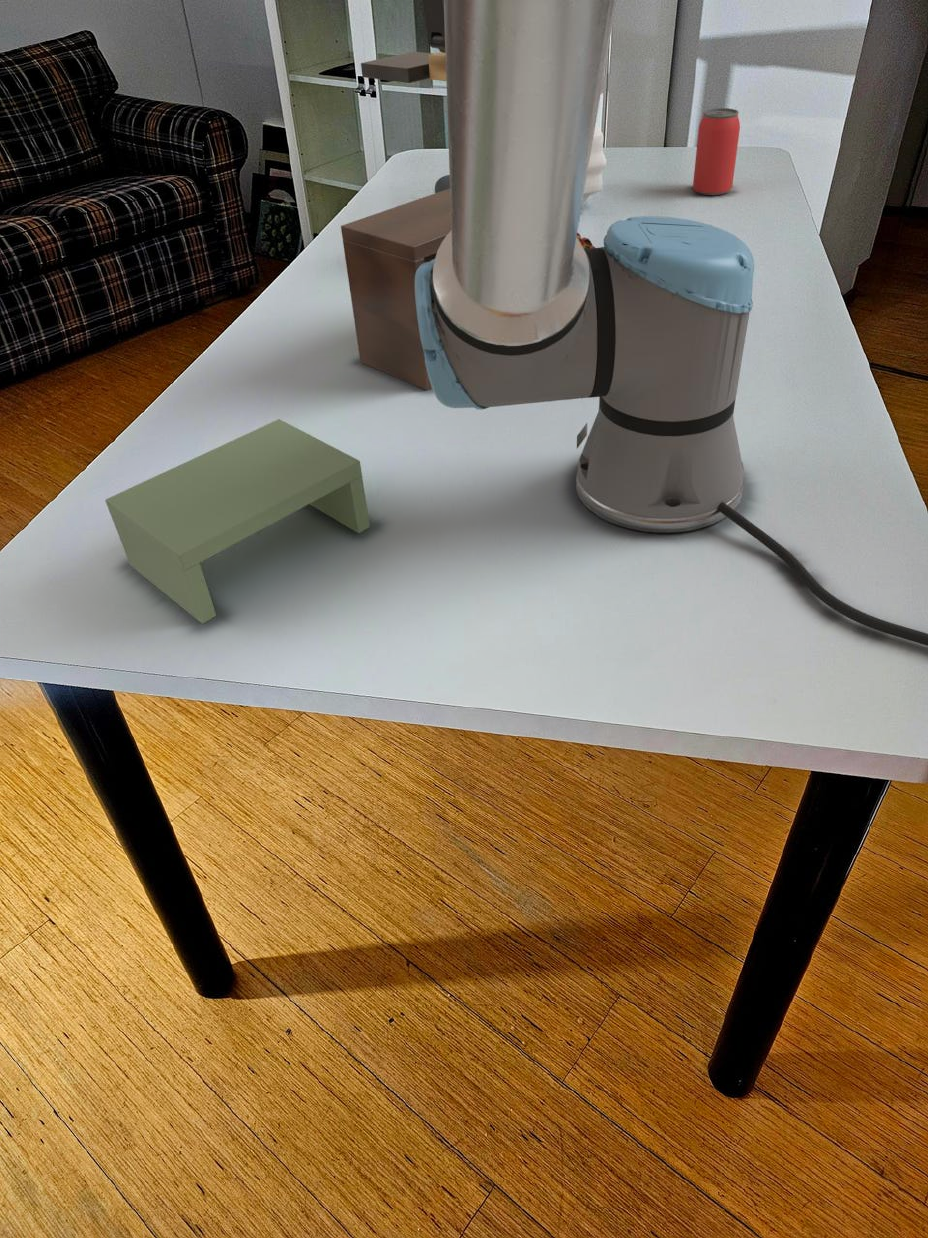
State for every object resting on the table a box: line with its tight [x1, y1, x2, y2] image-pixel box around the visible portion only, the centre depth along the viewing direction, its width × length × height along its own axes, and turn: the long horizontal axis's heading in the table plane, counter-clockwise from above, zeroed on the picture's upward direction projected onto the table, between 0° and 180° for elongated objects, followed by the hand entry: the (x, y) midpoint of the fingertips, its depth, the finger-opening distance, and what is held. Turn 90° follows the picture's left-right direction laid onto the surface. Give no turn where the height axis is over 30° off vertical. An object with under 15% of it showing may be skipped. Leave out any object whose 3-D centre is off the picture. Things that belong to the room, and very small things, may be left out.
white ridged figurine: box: [582, 124, 607, 205], centre depth 146 cm, size 11×18×16 cm, turn 21°
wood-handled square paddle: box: [360, 51, 446, 84], centre depth 84 cm, size 16×7×2 cm, turn 44°
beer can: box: [692, 107, 741, 196], centre depth 148 cm, size 7×7×12 cm
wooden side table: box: [340, 188, 452, 391], centre depth 105 cm, size 12×20×16 cm, turn 135°
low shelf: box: [104, 418, 371, 625], centre depth 78 cm, size 12×18×7 cm, turn 135°
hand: (482, 130), depth 84 cm, fingers closed on wood-handled square paddle, 3 cm apart
